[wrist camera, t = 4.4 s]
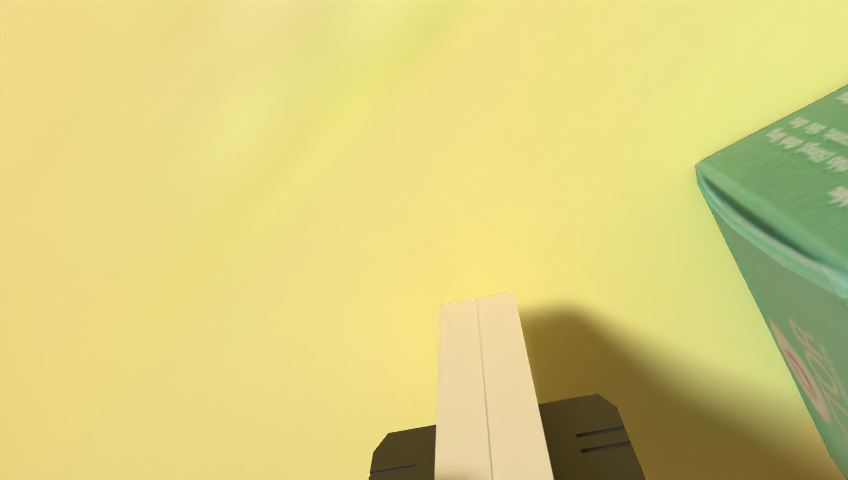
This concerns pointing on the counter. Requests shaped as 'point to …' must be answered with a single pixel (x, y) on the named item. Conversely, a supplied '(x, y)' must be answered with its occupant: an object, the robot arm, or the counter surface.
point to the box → (795, 246)
